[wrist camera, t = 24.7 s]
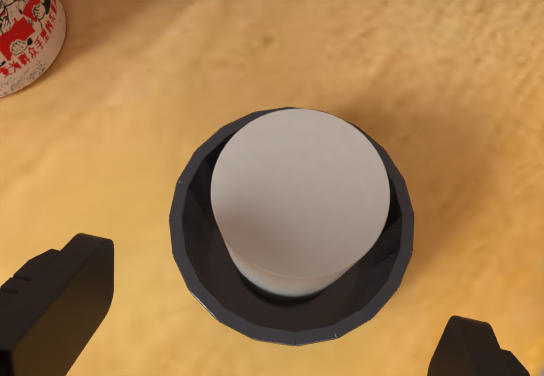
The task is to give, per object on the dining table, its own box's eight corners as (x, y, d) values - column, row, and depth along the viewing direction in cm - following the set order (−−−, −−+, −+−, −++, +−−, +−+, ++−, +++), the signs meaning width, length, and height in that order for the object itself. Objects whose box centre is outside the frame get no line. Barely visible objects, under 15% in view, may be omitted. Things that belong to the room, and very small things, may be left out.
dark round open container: (159, 203, 23) (131, 167, 18) (322, 125, 25) (335, 73, 20) (243, 383, 20) (237, 395, 16) (420, 283, 22) (462, 267, 17)
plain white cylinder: (210, 217, 22) (181, 152, 15) (311, 167, 23) (333, 82, 16) (263, 324, 21) (261, 313, 13) (369, 266, 22) (425, 225, 14)
